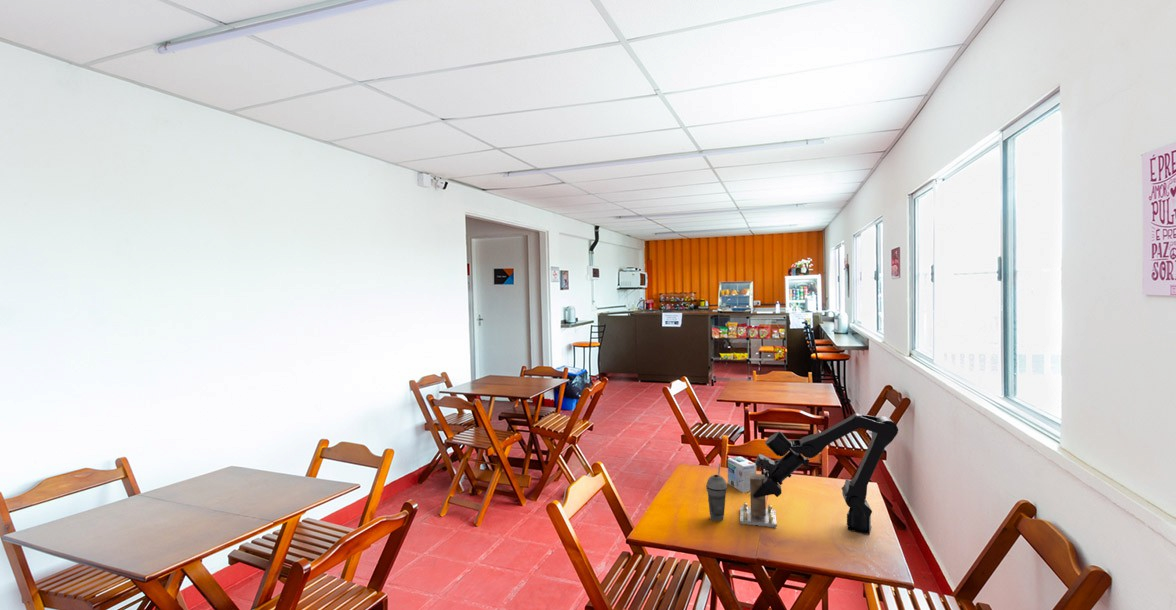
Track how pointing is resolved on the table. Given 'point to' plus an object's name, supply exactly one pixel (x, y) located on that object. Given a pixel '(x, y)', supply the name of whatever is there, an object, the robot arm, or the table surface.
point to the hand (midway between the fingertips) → (753, 493)
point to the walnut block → (758, 503)
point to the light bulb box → (740, 473)
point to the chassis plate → (757, 517)
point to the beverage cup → (716, 496)
